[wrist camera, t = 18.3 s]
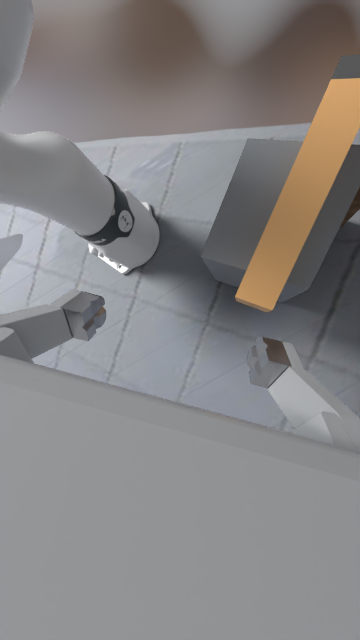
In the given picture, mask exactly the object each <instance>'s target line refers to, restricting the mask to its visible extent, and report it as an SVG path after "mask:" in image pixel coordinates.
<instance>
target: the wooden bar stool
mask: <svg viewBox="0 0 360 640" xmlns="http://www.w3.org/2000/svg"><path fill="white" fill-rule="evenodd" d="M359 209H360V187H359V189H358V191H357V193H356V195H355V197H354V199H353V201H352V203H351V205H350V208H349V210H348V212H347V214H346V216H345V218H344V220H343V222H342V224H341V226H340V228H341V227H342V226H343V225H344V224H345V223H346V222H347V221H348V220H349V219H350V218H351V217H352V216H353V215H354V214H355V213H356V212H357V211H358V210H359ZM340 228H339V229H340Z"/></svg>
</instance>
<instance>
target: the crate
mask: <svg viewBox="0 0 360 640" xmlns="http://www.w3.org/2000/svg"><path fill="white" fill-rule="evenodd" d="M302 144H303V142H301V141H283V140H265V139H248V140H247V142H246V145H245V147H244V150H243V152H242V155H241V157H240V159H239V162H238V164H237V167H236V169H235V172H234V174H233V177H232V179H231V182H230V184H229V187H228V189H227V192H226V194H225V197H224V199H223V202H222V204H221V207H220V209H219V212H218V214H217V217H216V219H215V221H214V224H213V226H212V229H211V231H210V234H209V236H208V239H207V241H206V244H205V246H204V249H203V251H202V254H201V256H200V257H201V258H202V260H203V261H204V263H205V264H206V266H207V268H208V269H209V271H210V272H211V274H212V275H213V277H214V279H215V280H217V281H219V282H222V283H225V284H228V285H231V286H234V287H237V288H239V286H240V284H241V282H242V280H243V277H244V275H245V273H246V271H247V268H248V266H249V264H250V261H251V259H252V257H253V255H254V252H255V250H256V248H257V246H258V243H259V241H260V239H261V237H262V234H263V232H264V230H265V228H266V225H267V223H268V221H269V219H270V216H271V214H272V212H273V210H274V207H275V205H276V203H277V201H278V198H279V196H280V194H281V192H282V189H283V187H284V185H285V183H286V180H287V178H288V176H289V173H290V171H291V169H292V167H293V164H294V162H295V160H296V158H297V155H298V153H299V151H300V149H301V146H302ZM359 187H360V145H353V144H351V146H350V149H349V151H348V153H347V155H346V157H345V159H344V161H343V163H342V165H341V167H340V170H339V172H338V174H337V176H336V178H335V180H334V182H333V184H332V186H331V188H330V191H329V193H328V195H327V197H326V199H325V201H324V203H323V205H322V207H321V209H320V212H319V214H318V216H317V218H316V220H315V222H314V224H313V226H312V228H311V230H310V233H309V235H308V237H307V239H306V241H305V243H304V245H303V247H302V249H301V251H300V254H299V256H298V258H297V260H296V262H295V264H294V266H293V268H292V270H291V272H290V275H289V277H288V279H287V281H286V283H285V285H284V287H283V289H282V291H281V293H280V296H279V298H278V300H277V301H278V302H280V303H283V302H285V301H287V300H289V299H291V298H293V297H295V296H297V295H299V294H301V293H303V292H305V291H307V290H309V288H310V286H311V284H312V282H313V280H314V278H315V276H316V274H317V272H318V270H319V268H320V266H321V264H322V262H323V260H324V258H325V256H326V254H327V252H328V250H329V248H330V246H331V244H332V242H333V240H334V238H335V236H336V234H337V232H338V230H339V228H340V226H341V224H342V222H343V220H344V218H345V216H346V214H347V212H348V210H349V208H350V205H351V203H352V201H353V199H354V197H355V195H356V193H357V191H358V189H359Z"/></svg>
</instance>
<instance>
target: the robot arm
mask: <svg viewBox="0 0 360 640" xmlns="http://www.w3.org/2000/svg"><path fill="white" fill-rule="evenodd" d="M33 21H34V10H33V5H32V0H0V111H1V109H2V107H3V105H4V104H5V102H6V100H7V99H8V97H9V95H10V94H11V92H12V90H13V88H14V86H15V84H16V83H17V81H18V79H19V78H20V76H21V72H22V68H23V64H24V61H25V57H26V53H27V49H28V44H29V39H30V35H31V31H32V26H33ZM0 203H2V204H8V205H12V206H17V207H21V208H24V209H28V210H31V211H34V212H36V213H39V214H41V215H43V216H45V217H48V218H50V219H52V220H54V221H56V222H58V223H60V224H62V225H64V226H66V227H68V228H70V229H72V230H74V231H75V233H76V234H77V235H79V236H80V237H81V238H82V239H83V240H84V241H86V242H87V243H89V252H90V253H92V254H94V255H96V256H98V257H99V258H101V259H102V260H103V261H105V262H106V263H108V264H109V265H110V266H112V267H113V268H115V269H116V270H117V271H119V272H120V273H122V274H127V273H128V272H130V271H131V270H132V269H133V268H135V267H138V266H141V265H143V264H144V263H146V262H147V261H148V260H149V259H150V258H151V257H152V256H153V254H154V253H155V251H156V249H157V246H158V243H159V227H158V224H157V222H156V220H155V219H154V217H153V216H152V211H151V207H150V205H149V204H148V203H147V202H140V201H139V200H138V199H137V198H136V197H135V196H134V195H133V194H132V193H131V192H130V191H129V190H127V189H126V190H121V189H120V187H119V186H118V185H117V184H116V183H115V182H113V181H112V180H111V179H110V178H109V177H107V176H105V175H103V174H102V173H101V172H100V170H99V169H98V168H97V167H96V166H95V165H94V164H93V163H92V162H91V161H90V160H89V159H88V158H87V157H86V156H85V154H84V153H83V152H82V151H81V150H80V149H79V148H78V147H77V146H76V145H75V144H74V143H73V142H71V141H70V140H68V139H67V138H65V137H63V136H61V135H58V134H56V133H52V132H48V131H47V132H46V131H39V132H34V133H30V134H25V135H14V134H9V133H5V132H1V131H0ZM104 304H105V301H104V298H103V297H102V296H98V295H94V294H91V293H87V292H83V291H79V290H75V289H74V290H71V291H69V292H68V293H66V294H65V295H63V296H62V297H60V298H59V299H57V300H56V301H54V302H53V303H51V304H50V305H47V304H46V305H41V306H37V307H33V308H29V309H24V310H20V311H16V312H12V313H8V314H3V315H0V640H360V418H359V417H358V416H357V415H356V414H355V413H354V412H353V411H351V410H350V409H349V408H348V407H347V406H346V405H345V404H344V403H343V402H342V401H340V400H339V399H338V398H337V397H336V396H335V395H334V394H333V393H332V392H331V391H329V390H328V389H327V388H326V387H325V386H324V385H323V384H322V383H321V382H319V381H318V380H317V379H316V378H315V377H314V376H313V375H312V374H311V373H310V372H308V371H306V370H304V368H303V366H302V363H301V361H300V359H299V357H298V355H297V353H296V350H295V348H294V346H293V345H292V344H291V343H288V342H284V341H278V340H274V339H270V338H266V337H262V336H259V337H258V338H257V339H256V341H255V344H256V345H255V346H253V347H251V349H250V350H249V352H248V356H247V364H248V366H249V367H250V368H251V370H250V371H249V377H250V383H251V384H254V385H257V386H261V387H264V388H268V391H269V392H270V394H271V395H272V397H273V398H274V400H275V401H276V403H277V404H278V406H279V407H280V409H281V410H282V412H283V413H284V415H285V416H286V418H287V419H288V420H289V422H290V423H291V425H292V426H293V428H294V429H293V430H292V431H290V432H285V431H282V430H278V429H274V428H271V427H267V426H263V425H259V424H256V423H252V422H248V421H245V420H241V419H237V418H234V417H230V416H226V415H222V414H219V413H215V412H211V411H208V410H204V409H200V408H197V407H193V406H189V405H185V404H182V403H178V402H174V401H171V400H167V399H163V398H159V397H156V396H152V395H148V394H145V393H141V392H137V391H134V390H130V389H126V388H122V387H119V386H115V385H111V384H108V383H104V382H100V381H97V380H93V379H89V378H86V377H82V376H78V375H74V374H71V373H67V372H63V371H60V370H56V369H52V368H49V367H45V366H41V365H38V364H34V362H33V361H32V358H34V357H36V356H38V355H40V354H42V353H44V352H46V351H48V350H50V349H52V348H54V347H56V346H58V345H60V344H62V343H64V342H66V341H68V340H70V339H72V338H77V339H81V340H85V341H89V340H90V339H91V338H92V337H93V336H94V334H95V333H96V329H97V328H100V327H101V326H102V325H103V324H104V322H105V319H106V310H105V309H104V308H103V305H104Z"/></svg>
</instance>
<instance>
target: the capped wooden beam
mask: <svg viewBox="0 0 360 640" xmlns="http://www.w3.org/2000/svg"><path fill="white" fill-rule="evenodd" d="M359 128H360V55H348V56H341V59H340V61H339V63H338V65H337V68H336V70H335V72H334V74H333V76H332V79H331V81H330V83H329V86H328V88H327V90H326V92H325V95H324V97H323V99H322V101H321V104H320V106H319V108H318V111H317V113H316V115H315V117H314V119H313V122H312V124H311V126H310V128H309V131H308V133H307V135H306V137H305V140H304V142H303V144H302V146H301V149H300V151H299V153H298V155H297V158H296V160H295V162H294V164H293V167H292V169H291V171H290V173H289V176H288V178H287V180H286V183H285V185H284V187H283V189H282V192H281V194H280V196H279V198H278V201H277V203H276V205H275V207H274V210H273V212H272V214H271V216H270V219H269V221H268V223H267V225H266V228H265V230H264V232H263V234H262V237H261V239H260V241H259V243H258V246H257V248H256V250H255V252H254V255H253V257H252V259H251V261H250V264H249V266H248V268H247V271H246V273H245V275H244V277H243V280H242V282H241V284H240V286H239V289H238V291H237V293H236V295H235V299H236V301H237V302H240V303H243V304H245V305H248V306H251V307H253V308H256V309H259V310H261V311H264V312H267V313H268V312H270V311H272V310H273V308H274V306H275V304H276V302H277V300H278V298H279V296H280V293H281V291H282V289H283V287H284V285H285V283H286V281H287V279H288V277H289V275H290V272H291V270H292V268H293V266H294V264H295V262H296V260H297V258H298V256H299V254H300V251H301V249H302V247H303V245H304V243H305V241H306V239H307V237H308V235H309V233H310V230H311V228H312V226H313V224H314V222H315V220H316V218H317V216H318V214H319V212H320V209H321V207H322V205H323V203H324V201H325V199H326V197H327V195H328V193H329V191H330V188H331V186H332V184H333V182H334V180H335V178H336V176H337V174H338V172H339V170H340V167H341V165H342V163H343V161H344V159H345V157H346V155H347V153H348V151H349V149H350V146H351V144H352V142H353V140H354V138H355V136H356V134H357V132H358V130H359Z"/></svg>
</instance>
